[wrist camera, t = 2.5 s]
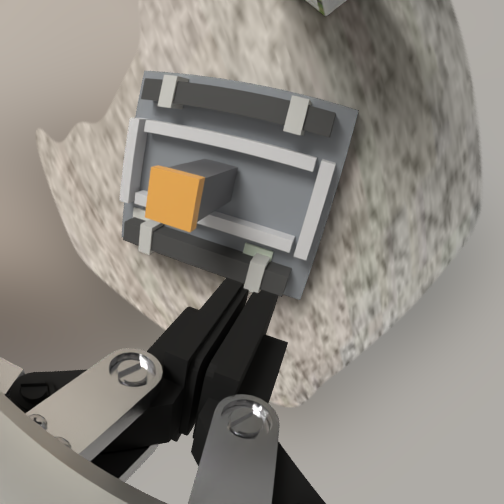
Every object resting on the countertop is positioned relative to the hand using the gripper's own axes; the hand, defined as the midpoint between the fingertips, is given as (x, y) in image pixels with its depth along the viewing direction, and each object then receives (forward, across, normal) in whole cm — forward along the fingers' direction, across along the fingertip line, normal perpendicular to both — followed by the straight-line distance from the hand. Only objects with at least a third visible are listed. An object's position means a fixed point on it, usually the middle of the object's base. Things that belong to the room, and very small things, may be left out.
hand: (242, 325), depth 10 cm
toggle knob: (+15, +7, -1) cm, 17 cm away
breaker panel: (+17, +7, -1) cm, 19 cm away
